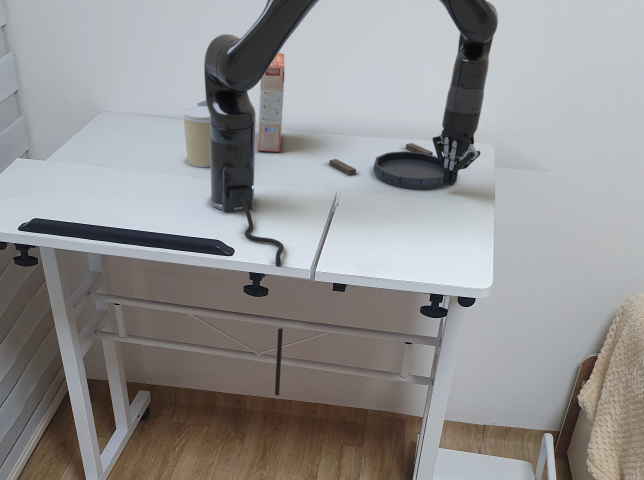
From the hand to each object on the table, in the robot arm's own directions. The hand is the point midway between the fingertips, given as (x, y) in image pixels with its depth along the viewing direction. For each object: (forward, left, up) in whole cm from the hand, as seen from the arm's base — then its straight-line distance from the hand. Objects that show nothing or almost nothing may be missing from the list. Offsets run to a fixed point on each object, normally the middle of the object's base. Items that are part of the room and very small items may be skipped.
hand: (448, 184), depth 164 cm
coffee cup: (+32, +50, -2) cm, 59 cm away
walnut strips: (+22, +6, -2) cm, 23 cm away
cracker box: (+41, +30, -2) cm, 50 cm away
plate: (+12, +3, -2) cm, 12 cm away
